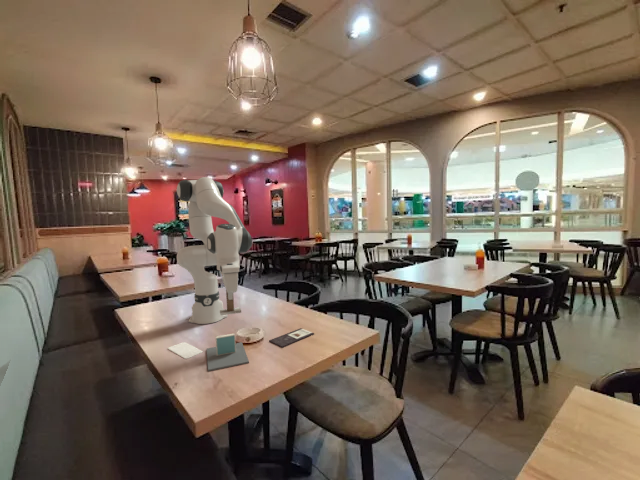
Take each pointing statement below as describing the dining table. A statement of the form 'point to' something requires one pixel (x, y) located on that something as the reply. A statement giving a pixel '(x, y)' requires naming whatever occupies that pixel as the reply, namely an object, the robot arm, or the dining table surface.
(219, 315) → the robot arm
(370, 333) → the dining table surface
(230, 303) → the stamp
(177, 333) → the dining table surface
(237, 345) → the mat
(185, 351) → the white flat slab
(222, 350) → the tile
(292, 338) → the chocolate bar
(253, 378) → the dining table surface
